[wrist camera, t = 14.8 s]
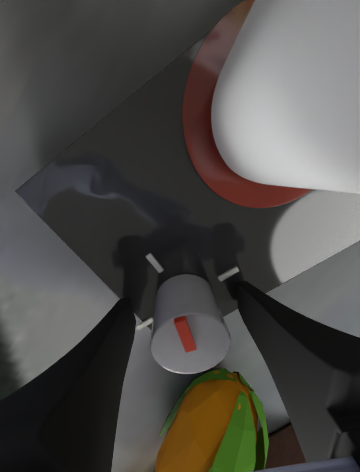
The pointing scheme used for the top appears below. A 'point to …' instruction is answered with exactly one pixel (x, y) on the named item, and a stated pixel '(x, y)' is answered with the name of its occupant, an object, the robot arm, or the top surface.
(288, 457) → the letter holder
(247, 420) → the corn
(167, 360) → the knob
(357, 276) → the top surface
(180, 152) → the hob
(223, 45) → the burner ring
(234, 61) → the can
